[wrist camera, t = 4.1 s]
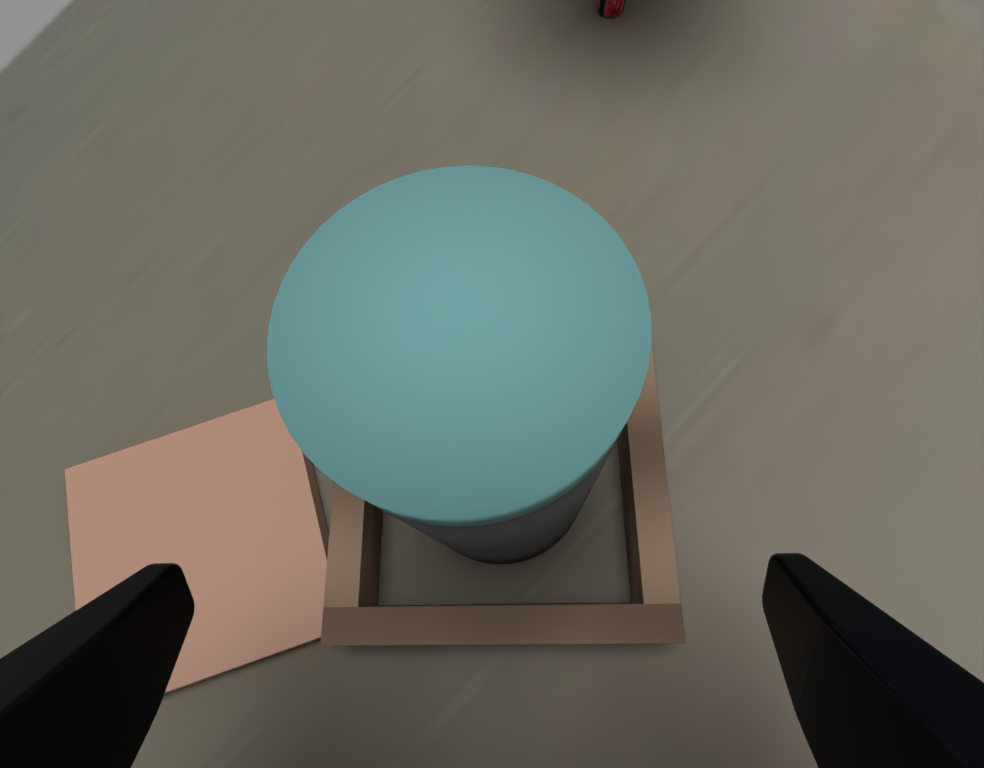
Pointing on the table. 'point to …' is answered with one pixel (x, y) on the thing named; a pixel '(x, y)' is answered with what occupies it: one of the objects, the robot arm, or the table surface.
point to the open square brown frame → (639, 622)
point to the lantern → (610, 7)
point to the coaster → (210, 534)
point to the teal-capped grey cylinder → (463, 354)
